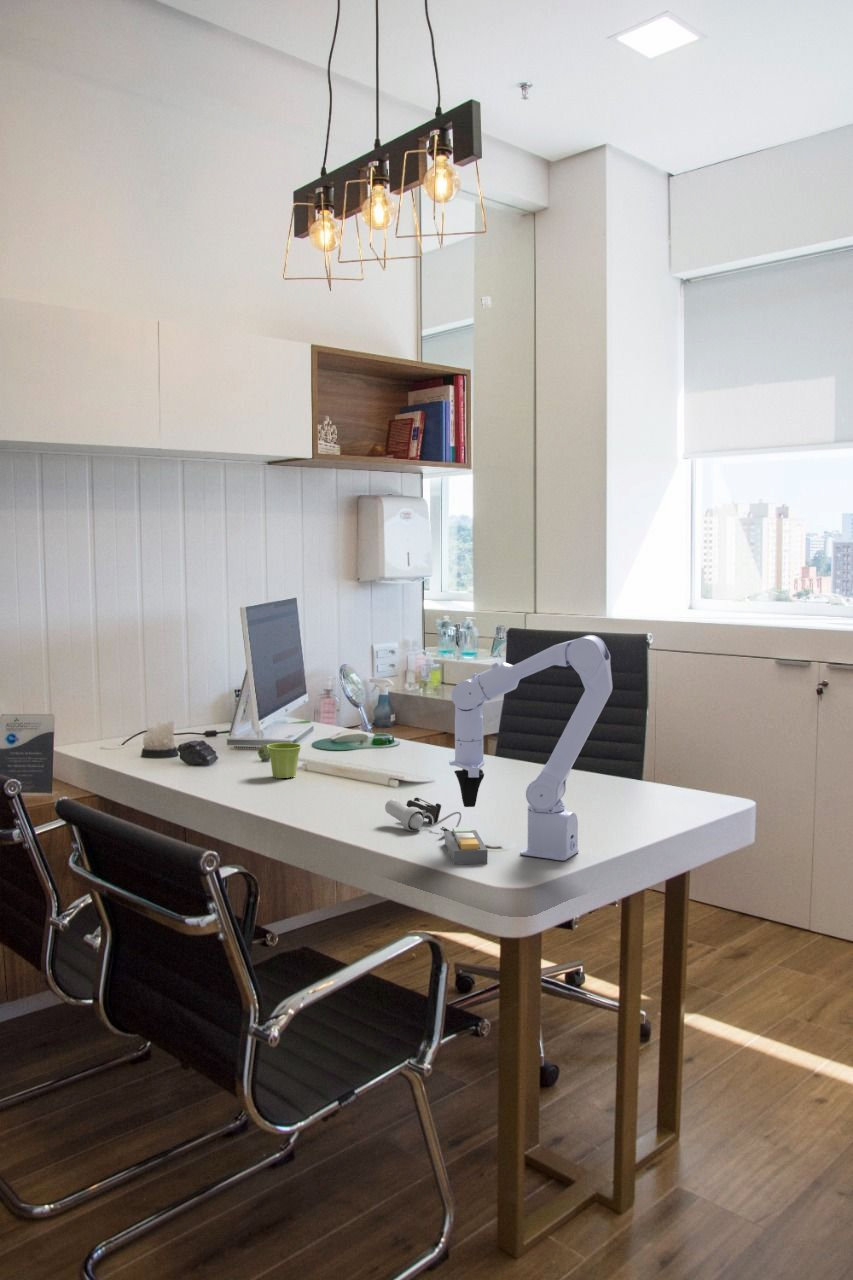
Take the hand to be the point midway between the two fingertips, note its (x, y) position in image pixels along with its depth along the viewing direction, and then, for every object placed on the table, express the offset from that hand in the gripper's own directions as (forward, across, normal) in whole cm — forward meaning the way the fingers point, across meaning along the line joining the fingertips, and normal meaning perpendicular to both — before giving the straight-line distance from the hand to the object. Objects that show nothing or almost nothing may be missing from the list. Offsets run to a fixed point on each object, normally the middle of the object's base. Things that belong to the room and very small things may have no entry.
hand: (469, 806), depth 212 cm
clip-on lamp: (+9, -17, -7) cm, 20 cm away
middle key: (+7, +4, -1) cm, 8 cm away
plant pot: (+8, -76, -41) cm, 87 cm away
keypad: (+8, +4, -1) cm, 10 cm away
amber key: (+7, +9, -1) cm, 11 cm away
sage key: (+7, -1, -1) cm, 7 cm away
